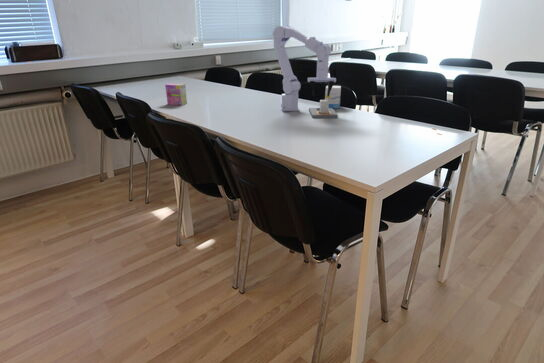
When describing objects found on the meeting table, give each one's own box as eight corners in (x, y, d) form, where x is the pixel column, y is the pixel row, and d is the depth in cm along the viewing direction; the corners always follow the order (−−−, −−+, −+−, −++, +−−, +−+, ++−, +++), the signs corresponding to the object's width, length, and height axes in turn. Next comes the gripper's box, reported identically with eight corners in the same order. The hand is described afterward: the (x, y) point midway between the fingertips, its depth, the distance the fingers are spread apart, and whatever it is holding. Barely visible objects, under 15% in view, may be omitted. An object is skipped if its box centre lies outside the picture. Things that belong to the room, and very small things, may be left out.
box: (167, 104, 226) (164, 84, 221) (172, 102, 231) (170, 82, 226) (181, 105, 222) (179, 85, 218) (187, 103, 227) (185, 83, 223)
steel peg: (320, 116, 195) (321, 101, 192) (319, 115, 199) (320, 99, 196) (327, 116, 195) (328, 101, 192) (326, 115, 199) (327, 99, 196)
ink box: (339, 108, 213) (340, 87, 209) (324, 108, 215) (325, 87, 210) (339, 105, 221) (341, 85, 216) (325, 105, 222) (326, 85, 218)
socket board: (312, 117, 192) (312, 114, 192) (308, 110, 209) (308, 107, 208) (337, 117, 192) (337, 114, 192) (332, 110, 209) (332, 107, 208)
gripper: (308, 70, 190) (307, 97, 195) (337, 70, 190) (335, 97, 195) (307, 68, 196) (306, 94, 202) (335, 68, 196) (333, 94, 202)
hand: (320, 95), depth 199 cm, fingers open, 7 cm apart
